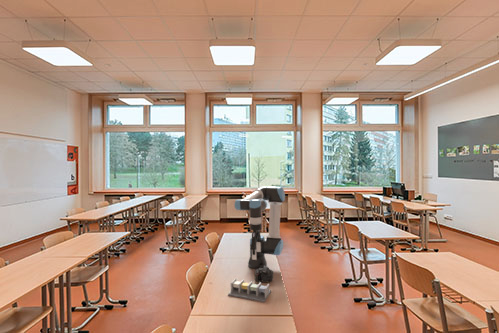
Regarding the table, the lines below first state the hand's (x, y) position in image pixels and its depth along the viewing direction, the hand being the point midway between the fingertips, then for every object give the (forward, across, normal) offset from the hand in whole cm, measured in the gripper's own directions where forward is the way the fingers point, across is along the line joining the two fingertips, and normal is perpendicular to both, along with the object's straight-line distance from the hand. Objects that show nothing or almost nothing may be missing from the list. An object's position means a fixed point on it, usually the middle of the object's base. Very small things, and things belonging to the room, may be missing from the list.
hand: (256, 255), depth 168 cm
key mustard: (+19, +5, -7) cm, 21 cm away
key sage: (+19, +6, -1) cm, 20 cm away
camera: (+23, -14, +2) cm, 27 cm away
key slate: (+19, +7, +5) cm, 21 cm away
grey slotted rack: (+23, +6, -4) cm, 24 cm away
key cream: (+19, +4, -13) cm, 23 cm away
